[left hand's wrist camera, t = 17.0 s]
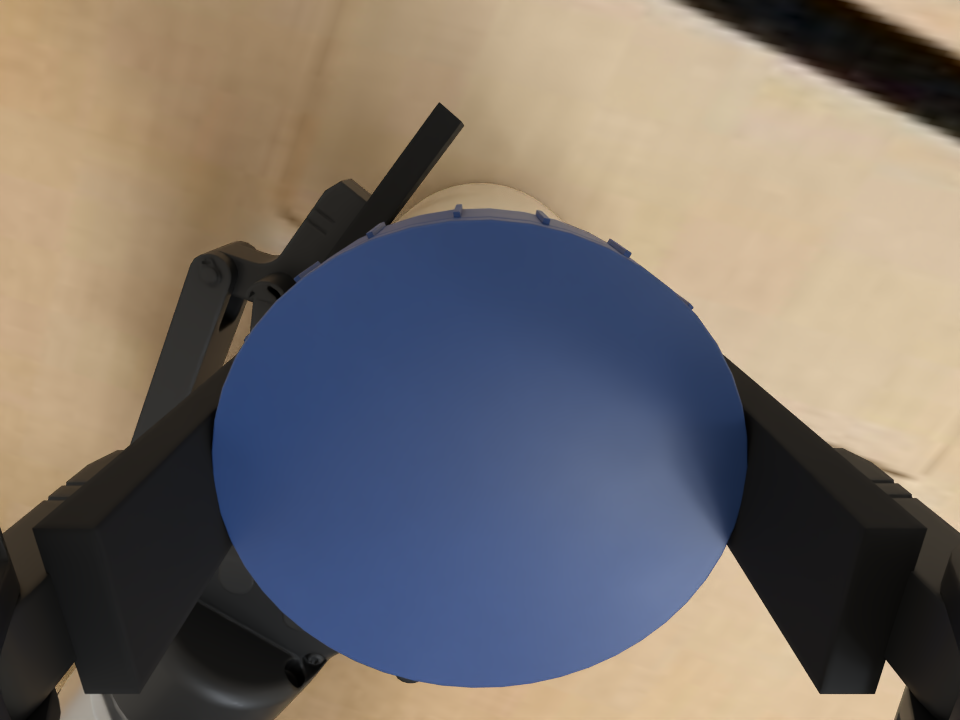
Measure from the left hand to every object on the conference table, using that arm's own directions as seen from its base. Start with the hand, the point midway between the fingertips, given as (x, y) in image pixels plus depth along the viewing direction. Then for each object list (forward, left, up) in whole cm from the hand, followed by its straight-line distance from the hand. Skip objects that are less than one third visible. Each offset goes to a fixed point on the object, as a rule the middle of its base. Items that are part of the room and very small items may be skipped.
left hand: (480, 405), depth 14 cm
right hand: (-4, -2, -5) cm, 7 cm away
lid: (0, 0, +3) cm, 3 cm away
